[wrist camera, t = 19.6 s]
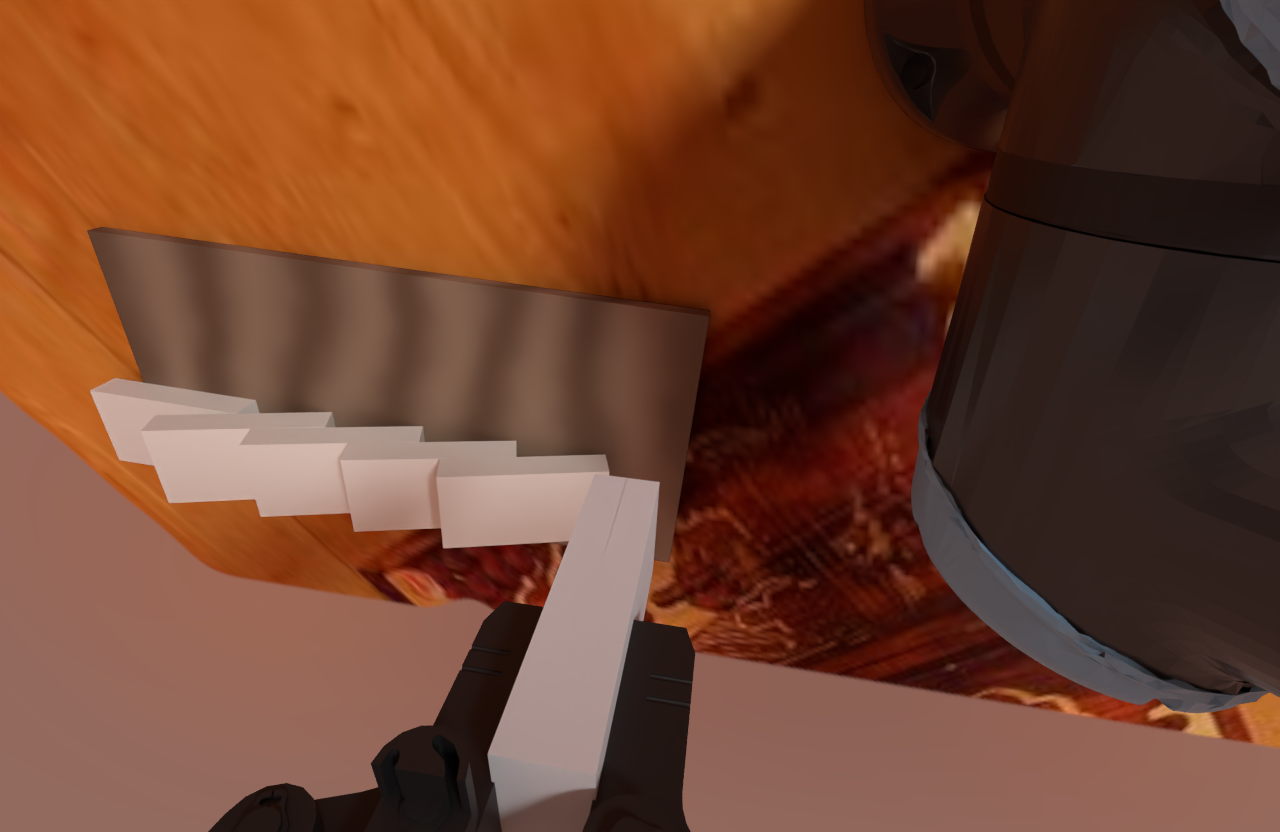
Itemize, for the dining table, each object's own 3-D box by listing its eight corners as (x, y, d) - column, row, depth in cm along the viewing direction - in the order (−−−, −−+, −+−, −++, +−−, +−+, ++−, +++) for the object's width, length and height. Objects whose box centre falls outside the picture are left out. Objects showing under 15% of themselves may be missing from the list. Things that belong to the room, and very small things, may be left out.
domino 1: (236, 413, 41) (89, 390, 42) (256, 482, 44) (119, 459, 45) (255, 400, 43) (114, 378, 44) (274, 467, 46) (141, 445, 47)
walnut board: (710, 310, 36) (709, 316, 35) (670, 553, 46) (669, 562, 45) (101, 226, 39) (87, 230, 38) (190, 473, 49) (180, 480, 48)
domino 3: (419, 441, 40) (239, 445, 38) (426, 509, 44) (260, 516, 41) (422, 426, 42) (250, 428, 40) (430, 492, 45) (270, 498, 43)
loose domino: (609, 471, 40) (436, 477, 37) (603, 539, 43) (443, 548, 40) (605, 454, 41) (439, 459, 39) (600, 520, 44) (445, 528, 42)
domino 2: (325, 426, 41) (140, 430, 39) (339, 495, 44) (169, 503, 42) (332, 411, 43) (155, 415, 40) (345, 478, 46) (181, 485, 43)
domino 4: (516, 457, 40) (340, 460, 38) (517, 525, 43) (354, 531, 41) (516, 440, 42) (347, 443, 40) (517, 507, 45) (360, 512, 43)
